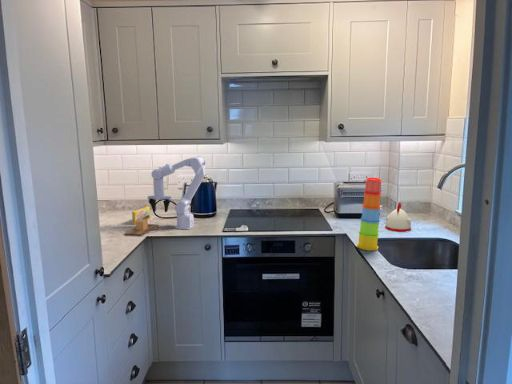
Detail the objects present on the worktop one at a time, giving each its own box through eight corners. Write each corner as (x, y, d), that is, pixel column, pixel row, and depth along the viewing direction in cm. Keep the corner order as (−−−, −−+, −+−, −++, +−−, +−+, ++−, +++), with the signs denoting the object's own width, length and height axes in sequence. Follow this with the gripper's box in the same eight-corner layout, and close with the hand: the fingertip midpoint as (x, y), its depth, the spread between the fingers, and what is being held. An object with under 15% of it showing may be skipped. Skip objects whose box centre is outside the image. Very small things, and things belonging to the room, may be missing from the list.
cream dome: (412, 227, 219) (414, 202, 217) (408, 233, 208) (410, 207, 205) (387, 224, 226) (389, 200, 224) (382, 230, 215) (384, 204, 212)
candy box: (135, 225, 231) (134, 212, 229) (132, 224, 232) (131, 211, 230) (150, 218, 246) (149, 206, 244) (147, 218, 247) (147, 206, 245)
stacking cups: (372, 243, 191) (375, 176, 185) (382, 250, 181) (386, 179, 175) (353, 244, 189) (356, 176, 183) (362, 251, 179) (365, 180, 173)
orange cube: (148, 227, 220) (147, 219, 219) (143, 230, 215) (143, 221, 214) (140, 227, 221) (139, 219, 220) (135, 229, 216) (135, 221, 215)
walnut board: (158, 226, 227) (158, 224, 226) (141, 236, 207) (140, 234, 207) (143, 225, 229) (142, 223, 229) (124, 235, 210) (124, 233, 209)
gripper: (144, 190, 220) (145, 212, 222) (167, 190, 216) (168, 213, 219) (150, 187, 226) (151, 209, 229) (172, 188, 223) (173, 210, 226)
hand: (160, 211), depth 224 cm, fingers open, 7 cm apart
